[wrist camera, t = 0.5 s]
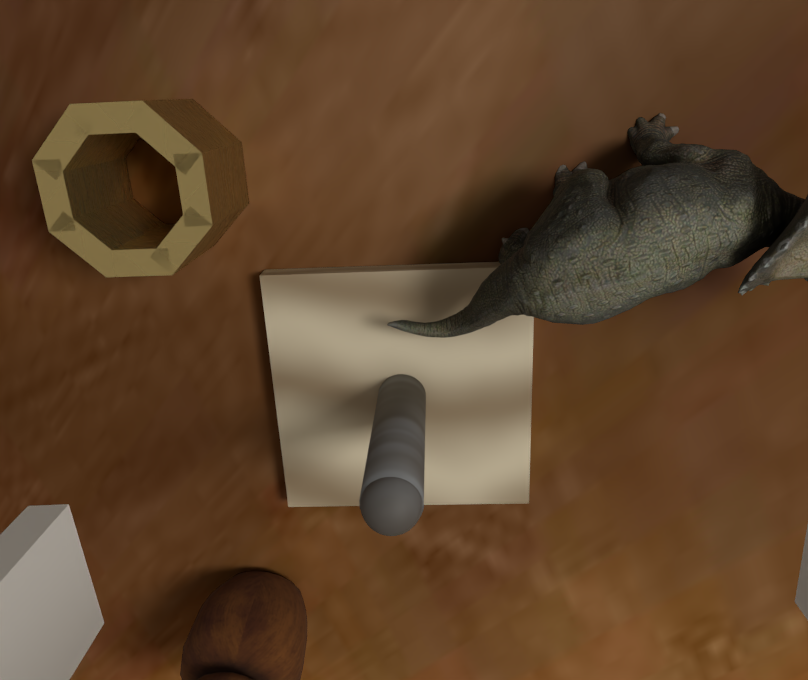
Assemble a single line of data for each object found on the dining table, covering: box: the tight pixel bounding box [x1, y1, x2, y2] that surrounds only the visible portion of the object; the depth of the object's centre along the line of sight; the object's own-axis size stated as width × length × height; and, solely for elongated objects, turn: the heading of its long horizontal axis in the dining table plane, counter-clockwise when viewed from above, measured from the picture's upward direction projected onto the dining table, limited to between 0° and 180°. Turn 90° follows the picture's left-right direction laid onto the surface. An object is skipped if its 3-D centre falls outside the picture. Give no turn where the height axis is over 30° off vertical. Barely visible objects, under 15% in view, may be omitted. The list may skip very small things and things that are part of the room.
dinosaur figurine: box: [387, 113, 808, 338], centre depth 28 cm, size 22×8×11 cm, turn 100°
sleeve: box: [32, 99, 249, 277], centre depth 31 cm, size 7×7×6 cm
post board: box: [260, 262, 534, 536], centre depth 31 cm, size 14×14×12 cm
